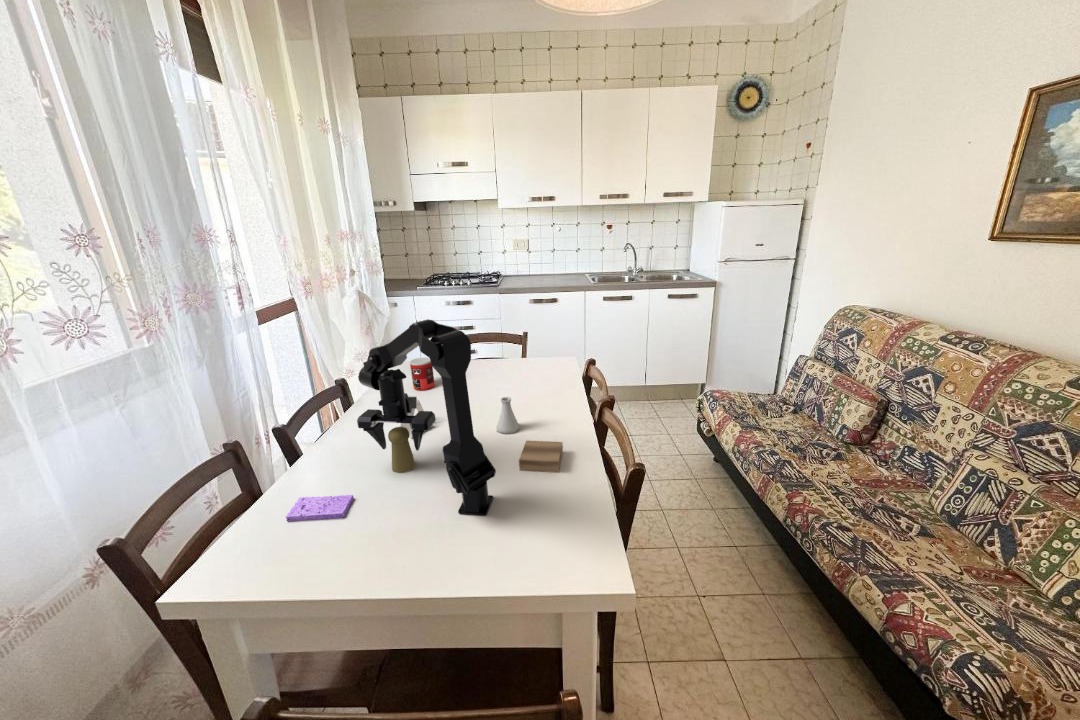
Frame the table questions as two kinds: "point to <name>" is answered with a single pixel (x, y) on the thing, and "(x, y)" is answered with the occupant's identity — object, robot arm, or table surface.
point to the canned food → (422, 374)
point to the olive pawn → (401, 450)
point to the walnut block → (541, 456)
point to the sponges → (320, 508)
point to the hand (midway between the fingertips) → (401, 449)
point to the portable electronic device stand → (419, 408)
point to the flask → (507, 418)
